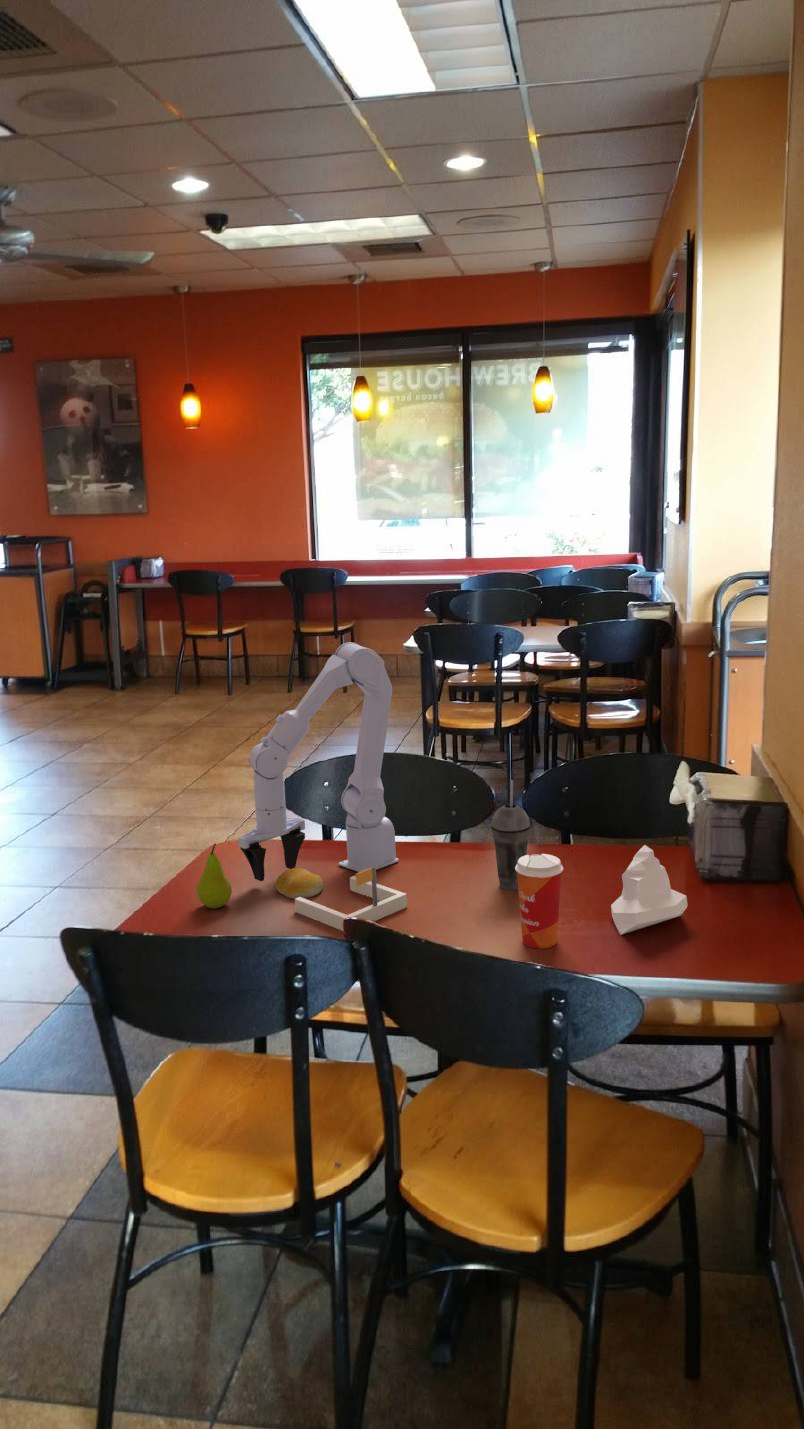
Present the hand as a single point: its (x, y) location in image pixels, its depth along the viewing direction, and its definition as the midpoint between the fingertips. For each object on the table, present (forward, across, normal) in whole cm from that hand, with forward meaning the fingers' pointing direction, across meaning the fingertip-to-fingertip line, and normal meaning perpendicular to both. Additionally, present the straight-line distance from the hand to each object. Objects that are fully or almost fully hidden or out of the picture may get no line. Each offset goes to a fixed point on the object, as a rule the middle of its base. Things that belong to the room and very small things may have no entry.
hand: (275, 873), depth 205 cm
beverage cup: (+2, -27, +36) cm, 45 cm away
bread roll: (+2, 0, +7) cm, 7 cm away
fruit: (+2, +15, +1) cm, 15 cm away
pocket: (+1, 0, +21) cm, 21 cm away
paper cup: (+2, -11, +55) cm, 56 cm away
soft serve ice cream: (+2, -28, +64) cm, 70 cm away
